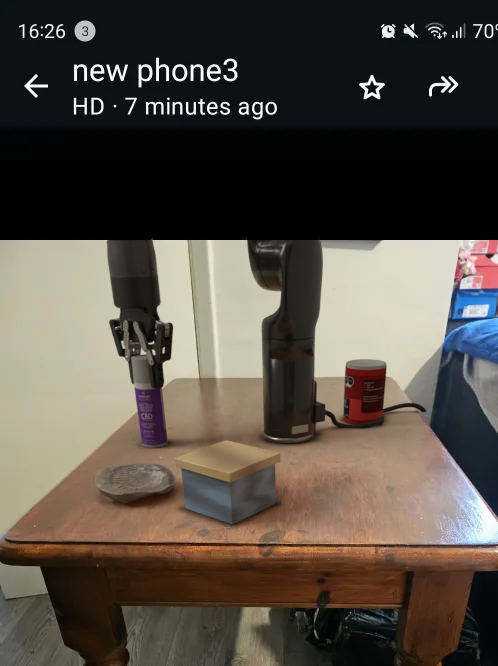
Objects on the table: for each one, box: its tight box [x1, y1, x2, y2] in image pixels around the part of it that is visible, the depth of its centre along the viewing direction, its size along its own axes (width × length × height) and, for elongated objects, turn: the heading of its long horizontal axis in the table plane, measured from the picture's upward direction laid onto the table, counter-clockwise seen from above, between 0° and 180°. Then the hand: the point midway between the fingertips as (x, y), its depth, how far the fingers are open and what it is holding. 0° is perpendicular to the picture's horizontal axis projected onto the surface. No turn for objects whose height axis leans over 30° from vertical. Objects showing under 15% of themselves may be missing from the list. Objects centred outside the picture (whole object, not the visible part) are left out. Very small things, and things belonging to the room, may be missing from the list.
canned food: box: [342, 358, 388, 425], centre depth 115 cm, size 8×8×11 cm
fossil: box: [94, 462, 177, 504], centre depth 85 cm, size 10×12×3 cm
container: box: [131, 353, 169, 449], centre depth 103 cm, size 5×5×15 cm
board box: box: [174, 439, 281, 525], centre depth 79 cm, size 10×10×7 cm
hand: (147, 385), depth 101 cm, fingers closed on container, 4 cm apart
